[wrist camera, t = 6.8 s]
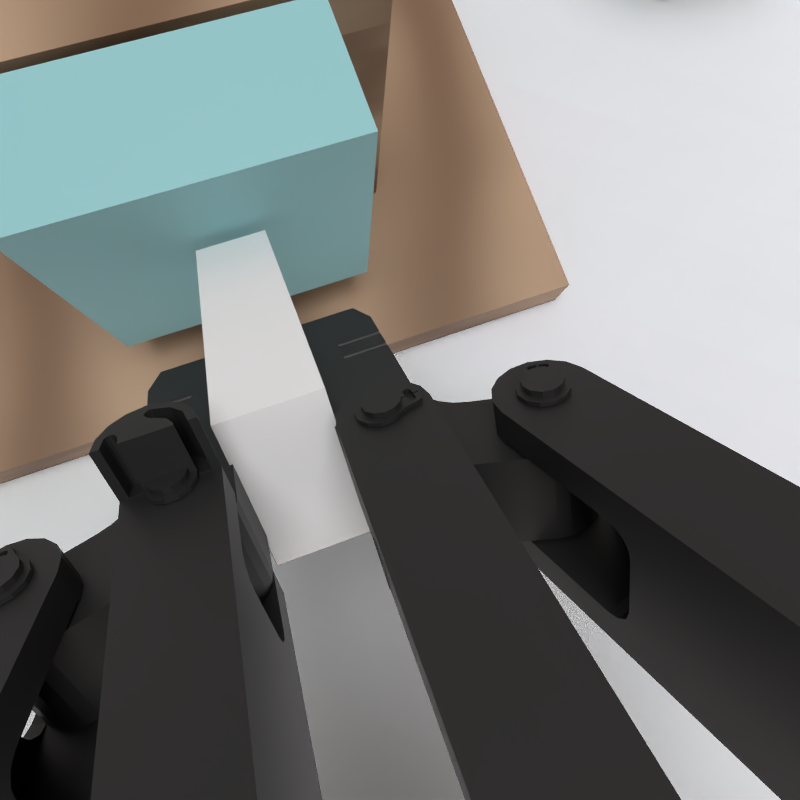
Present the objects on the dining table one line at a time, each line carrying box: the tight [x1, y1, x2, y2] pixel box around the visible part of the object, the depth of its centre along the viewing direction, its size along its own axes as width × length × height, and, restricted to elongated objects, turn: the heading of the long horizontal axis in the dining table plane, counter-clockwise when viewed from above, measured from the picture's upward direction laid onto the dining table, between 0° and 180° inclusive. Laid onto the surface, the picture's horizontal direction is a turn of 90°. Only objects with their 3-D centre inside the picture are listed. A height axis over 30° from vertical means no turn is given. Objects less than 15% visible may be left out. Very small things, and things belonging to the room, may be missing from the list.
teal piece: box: [0, 0, 378, 347], centre depth 16 cm, size 7×12×7 cm, turn 20°
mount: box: [0, 0, 569, 483], centre depth 17 cm, size 20×14×10 cm
